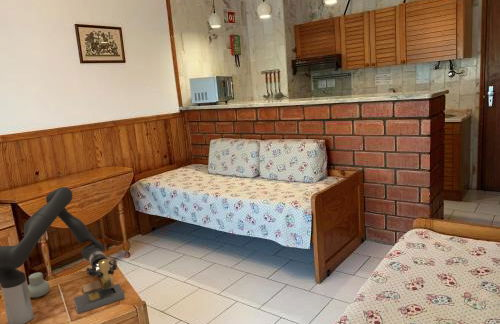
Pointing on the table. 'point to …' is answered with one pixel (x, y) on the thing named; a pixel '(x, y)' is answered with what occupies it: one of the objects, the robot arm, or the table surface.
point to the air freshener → (37, 285)
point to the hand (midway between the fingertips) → (106, 274)
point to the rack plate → (98, 298)
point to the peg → (105, 273)
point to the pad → (91, 287)
